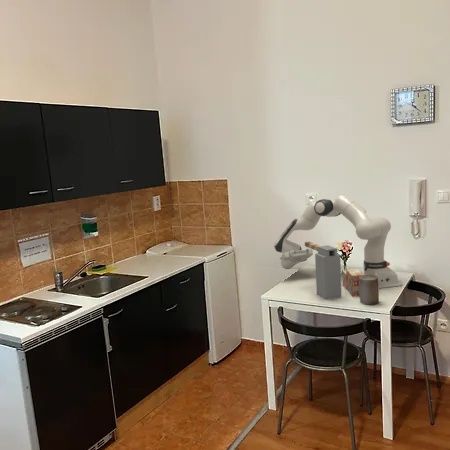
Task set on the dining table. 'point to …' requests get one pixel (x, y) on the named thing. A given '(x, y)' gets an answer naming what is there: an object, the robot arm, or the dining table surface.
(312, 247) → the oak bar
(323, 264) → the slate-grey stand
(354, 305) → the dining table surface
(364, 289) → the pillar candle
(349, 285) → the stack of blocks
